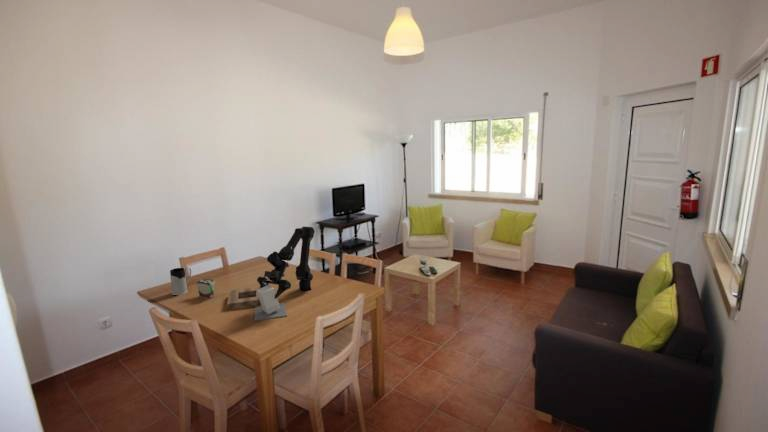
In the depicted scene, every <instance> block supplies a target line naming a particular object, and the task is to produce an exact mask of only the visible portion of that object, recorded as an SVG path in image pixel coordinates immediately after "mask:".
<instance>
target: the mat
mask: <svg viewBox="0 0 768 432" xmlns="http://www.w3.org/2000/svg"><path fill="white" fill-rule="evenodd" d="M279 305H280V309H278V310H276V311H274V312H273V313H271V314H269V315H268V314H267V313H266V312H264V311H263V309H262V306H261V305H260V306H254V322H258V321H264V320H265V321H266V320H272V319H278V318H284V317H288V315H287V309H286V304H285V302H284V303H282V302H281V303H279Z"/></svg>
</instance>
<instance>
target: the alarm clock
mask: <svg viewBox="0 0 768 432" xmlns="http://www.w3.org/2000/svg"><path fill="white" fill-rule="evenodd" d="M196 285H197V291H198V295H199V297H200V298H205V299H208V300H212V299H213V298H214V297H215V289H214V288H215V285H216V282H215V279H214V278H201V279H197V280H196Z"/></svg>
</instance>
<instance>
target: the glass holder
mask: <svg viewBox="0 0 768 432" xmlns="http://www.w3.org/2000/svg"><path fill="white" fill-rule="evenodd" d="M187 269H188V270H189V277H188V279H186V274H187V273H186V272H187ZM169 273H170V284H171V285H170V286H171V296H172V295H181V294H184V295H186V294H185V293H187V292H188V293H189V291H188V286H187V285H188V283H189V281H190V279H191V276H192V270H191V268H190V267H186V268H184V267H177V268H172V269H171V270H169ZM188 293H187V294H188ZM181 296H182V295H181Z"/></svg>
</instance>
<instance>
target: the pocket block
mask: <svg viewBox="0 0 768 432" xmlns="http://www.w3.org/2000/svg"><path fill="white" fill-rule="evenodd" d="M259 289H260V286H256V287H249V288H240V289H233V290H229V292H228V297H227V302H226V303H227V304H226V305H227V307H226V308H227V310H228V311H229V310H237V309H245V308H250V307H252V308H253V307H261V303H260V300H259V297H258V294H257V290H259Z"/></svg>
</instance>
